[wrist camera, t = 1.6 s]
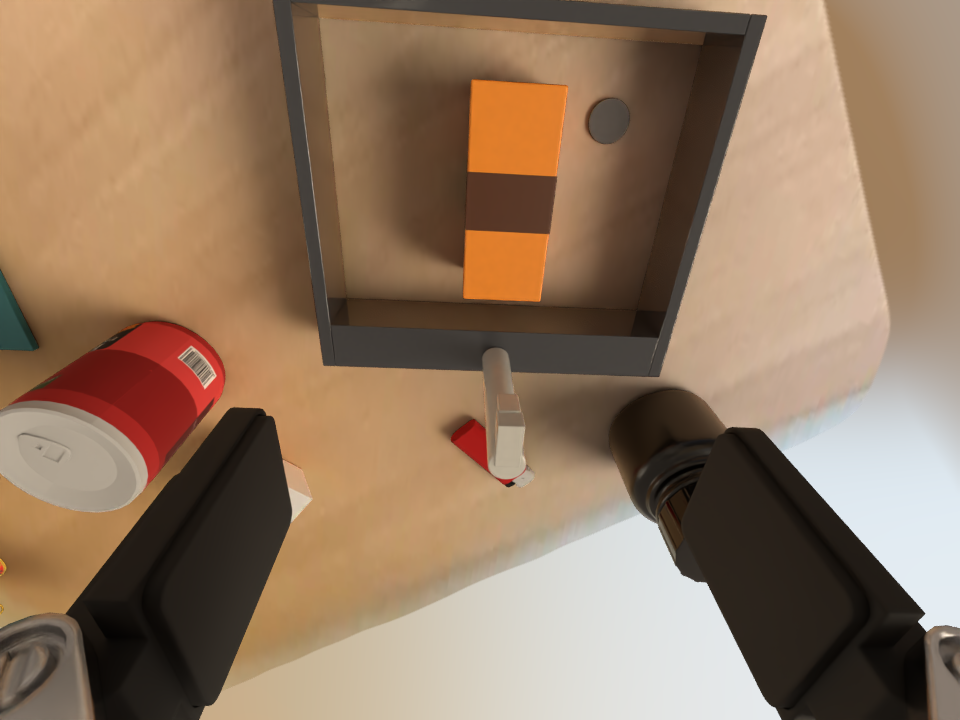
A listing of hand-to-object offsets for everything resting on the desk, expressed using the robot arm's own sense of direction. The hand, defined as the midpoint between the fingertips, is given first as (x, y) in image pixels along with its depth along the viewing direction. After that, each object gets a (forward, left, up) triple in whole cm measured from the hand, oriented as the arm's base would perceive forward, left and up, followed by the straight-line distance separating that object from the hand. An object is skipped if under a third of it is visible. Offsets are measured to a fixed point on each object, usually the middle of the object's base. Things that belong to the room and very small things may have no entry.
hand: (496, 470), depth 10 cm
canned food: (+12, -22, -23) cm, 34 cm away
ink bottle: (+17, +17, -23) cm, 33 cm away
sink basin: (-1, +2, -23) cm, 23 cm away
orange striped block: (-2, +2, -23) cm, 23 cm away
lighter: (+20, +3, -23) cm, 30 cm away
